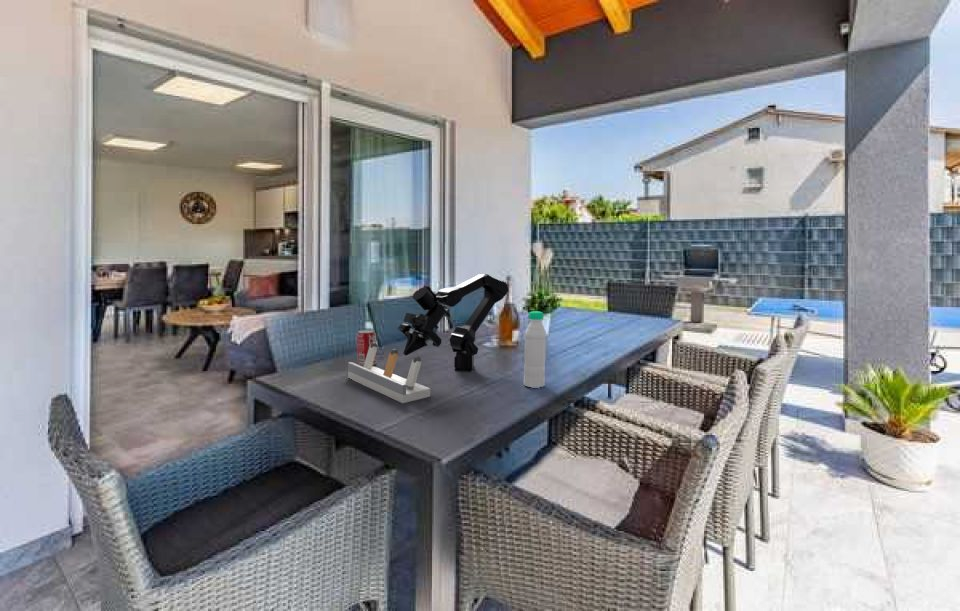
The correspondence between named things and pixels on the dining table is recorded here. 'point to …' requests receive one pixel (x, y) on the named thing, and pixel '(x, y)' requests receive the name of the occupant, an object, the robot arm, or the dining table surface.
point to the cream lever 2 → (413, 372)
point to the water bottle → (535, 351)
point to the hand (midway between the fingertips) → (404, 354)
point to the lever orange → (391, 363)
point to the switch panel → (386, 383)
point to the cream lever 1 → (370, 355)
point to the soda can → (364, 345)
